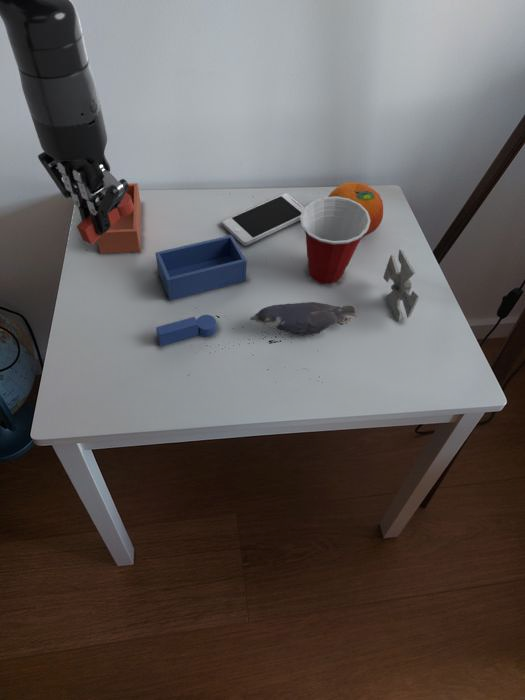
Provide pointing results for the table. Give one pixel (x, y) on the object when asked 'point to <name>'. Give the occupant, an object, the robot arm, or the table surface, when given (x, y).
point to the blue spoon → (186, 329)
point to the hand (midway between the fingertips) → (97, 228)
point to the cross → (400, 285)
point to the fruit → (363, 201)
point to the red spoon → (122, 210)
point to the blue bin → (201, 267)
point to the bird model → (304, 317)
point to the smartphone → (264, 219)
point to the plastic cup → (332, 235)
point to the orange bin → (124, 229)
